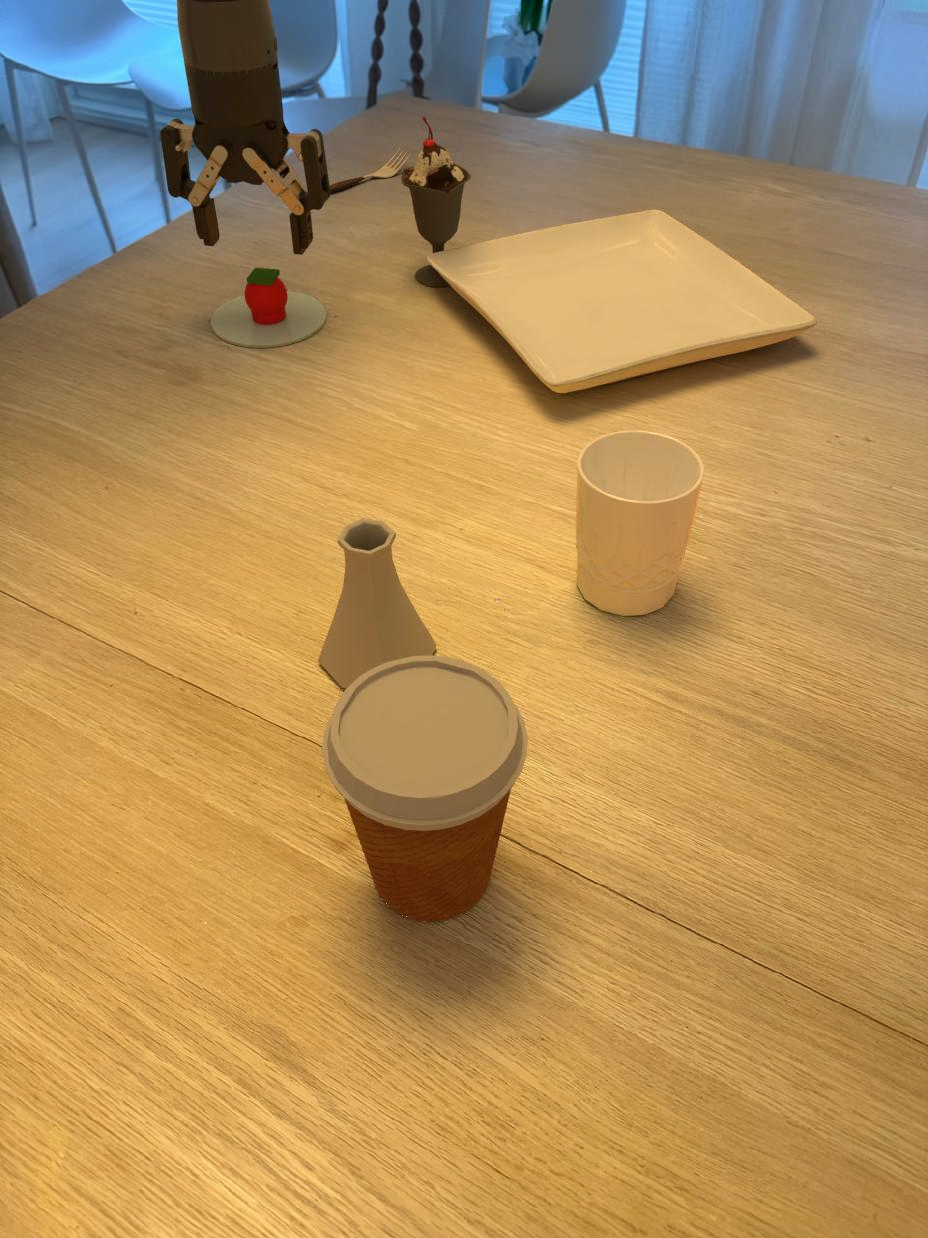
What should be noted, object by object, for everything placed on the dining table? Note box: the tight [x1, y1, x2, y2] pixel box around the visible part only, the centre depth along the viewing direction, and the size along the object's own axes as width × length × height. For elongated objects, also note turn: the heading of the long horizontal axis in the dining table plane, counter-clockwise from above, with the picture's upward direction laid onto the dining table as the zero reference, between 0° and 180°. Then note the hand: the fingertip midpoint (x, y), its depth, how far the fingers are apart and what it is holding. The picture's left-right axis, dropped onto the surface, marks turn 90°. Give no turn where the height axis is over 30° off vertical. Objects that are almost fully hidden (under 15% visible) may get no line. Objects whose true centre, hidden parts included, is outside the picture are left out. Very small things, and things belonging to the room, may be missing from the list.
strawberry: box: [244, 267, 288, 325], centre depth 99 cm, size 4×4×4 cm
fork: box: [329, 148, 413, 193], centre depth 125 cm, size 3×16×2 cm, turn 133°
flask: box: [317, 517, 437, 689], centre depth 64 cm, size 7×7×10 cm
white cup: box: [575, 429, 705, 617], centre depth 69 cm, size 8×8×10 cm
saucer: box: [210, 290, 328, 349], centre depth 101 cm, size 11×11×1 cm
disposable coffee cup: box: [321, 654, 529, 923], centre depth 52 cm, size 10×10×12 cm
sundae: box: [400, 115, 472, 288], centre depth 102 cm, size 7×7×15 cm
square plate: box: [425, 209, 818, 394], centre depth 99 cm, size 27×27×4 cm
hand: (256, 246), depth 96 cm, fingers open, 8 cm apart
